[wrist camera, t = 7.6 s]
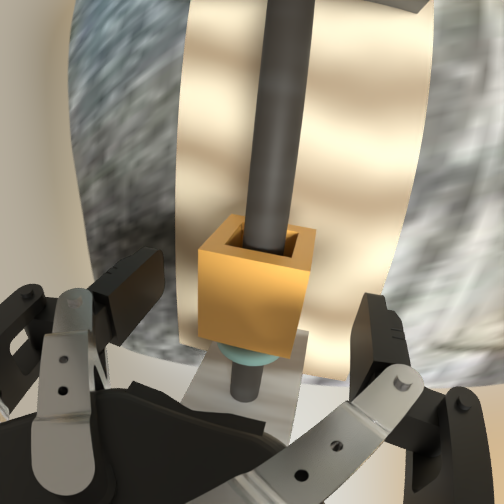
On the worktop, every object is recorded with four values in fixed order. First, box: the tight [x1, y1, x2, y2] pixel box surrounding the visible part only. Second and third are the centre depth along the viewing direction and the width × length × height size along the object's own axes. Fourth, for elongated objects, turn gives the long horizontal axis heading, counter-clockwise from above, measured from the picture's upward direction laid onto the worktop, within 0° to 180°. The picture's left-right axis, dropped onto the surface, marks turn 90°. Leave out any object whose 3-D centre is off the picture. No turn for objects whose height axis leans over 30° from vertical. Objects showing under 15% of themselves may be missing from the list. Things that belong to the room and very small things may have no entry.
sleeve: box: [198, 214, 316, 359], centre depth 13 cm, size 4×4×4 cm
